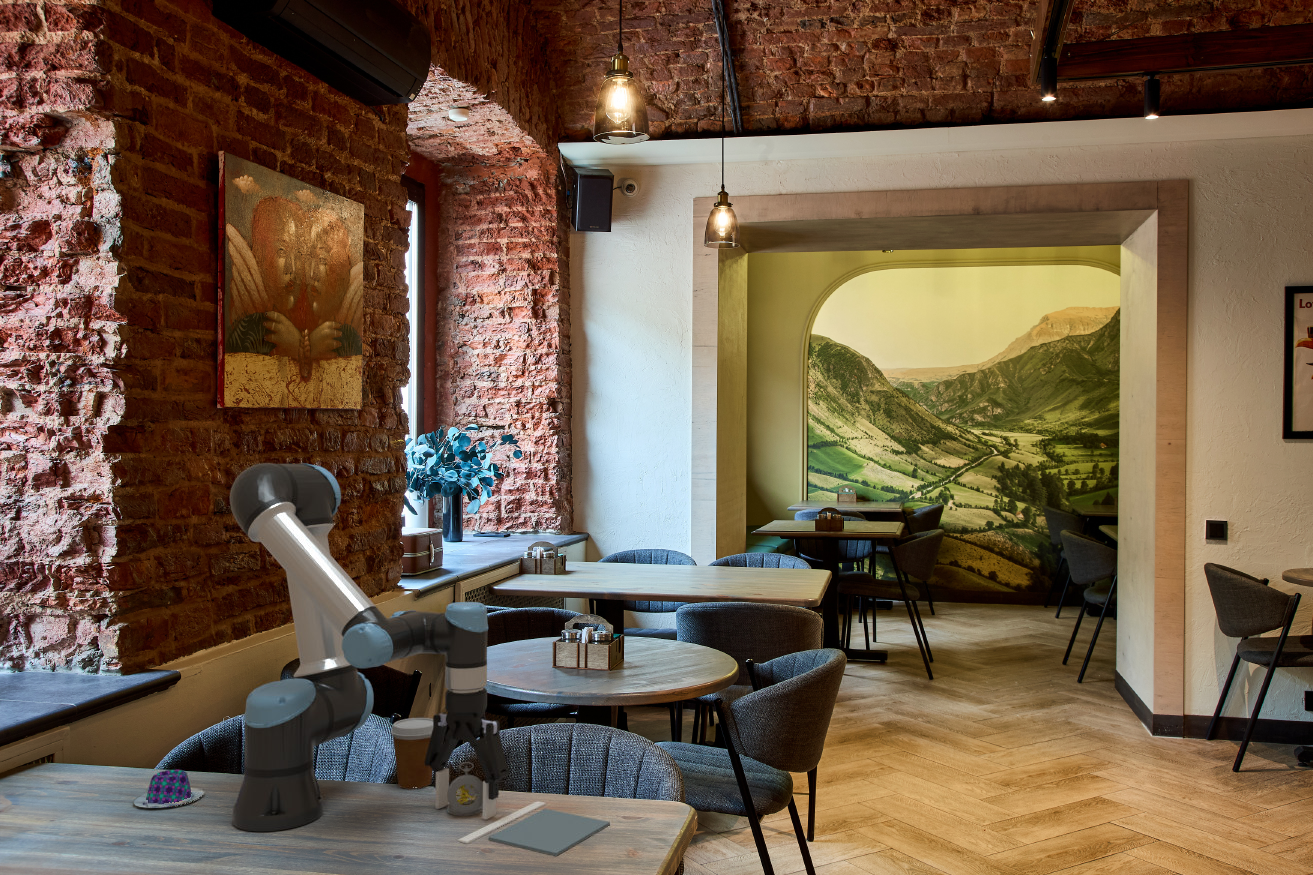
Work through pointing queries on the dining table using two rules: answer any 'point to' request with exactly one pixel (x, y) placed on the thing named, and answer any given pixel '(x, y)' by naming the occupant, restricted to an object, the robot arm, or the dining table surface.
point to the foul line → (500, 823)
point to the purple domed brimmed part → (169, 787)
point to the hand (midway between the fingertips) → (465, 811)
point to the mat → (549, 831)
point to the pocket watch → (465, 794)
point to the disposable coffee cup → (412, 751)
